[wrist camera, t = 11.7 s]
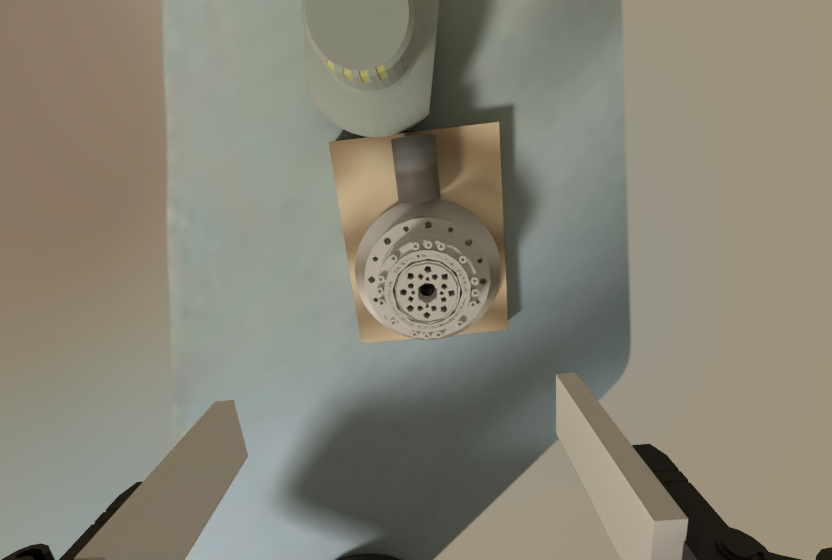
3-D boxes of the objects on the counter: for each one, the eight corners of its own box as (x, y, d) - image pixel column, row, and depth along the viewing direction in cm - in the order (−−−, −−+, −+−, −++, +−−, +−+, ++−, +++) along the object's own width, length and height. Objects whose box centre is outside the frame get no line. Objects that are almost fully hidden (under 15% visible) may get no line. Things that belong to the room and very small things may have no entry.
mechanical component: (483, 332, 33) (491, 216, 30) (492, 357, 29) (502, 224, 26) (368, 330, 33) (365, 214, 30) (360, 354, 29) (355, 222, 26)
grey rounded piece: (426, 144, 31) (427, 134, 21) (323, 134, 31) (277, 119, 21) (441, -15, 28) (450, -113, 18) (327, -27, 27) (275, -131, 18)
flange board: (504, 323, 35) (516, 346, 30) (364, 336, 35) (355, 360, 31) (495, 123, 30) (508, 116, 26) (333, 143, 31) (317, 138, 26)
